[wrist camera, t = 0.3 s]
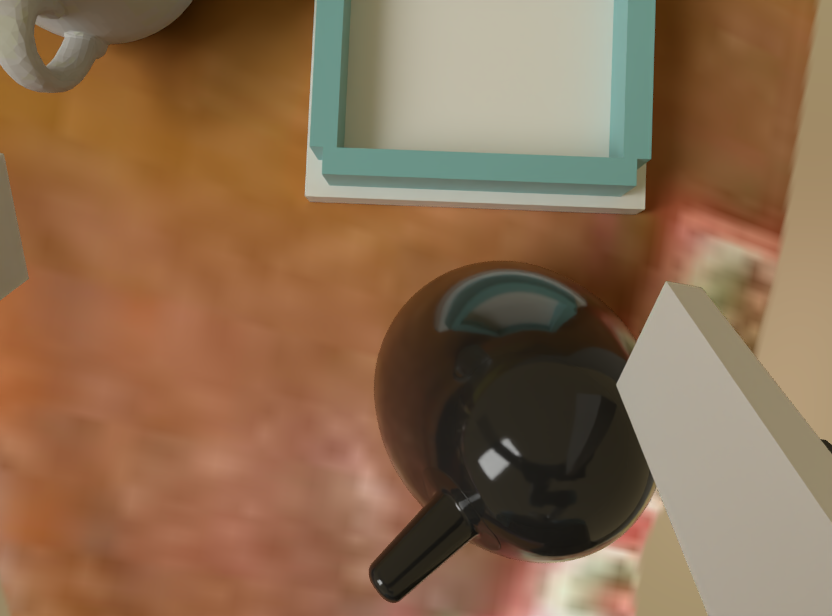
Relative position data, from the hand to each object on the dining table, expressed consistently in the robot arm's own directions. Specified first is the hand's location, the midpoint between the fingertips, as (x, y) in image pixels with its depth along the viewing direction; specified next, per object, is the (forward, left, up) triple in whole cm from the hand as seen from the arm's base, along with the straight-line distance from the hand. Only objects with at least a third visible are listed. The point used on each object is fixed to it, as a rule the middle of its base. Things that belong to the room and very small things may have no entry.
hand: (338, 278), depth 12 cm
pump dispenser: (-3, -5, -16) cm, 17 cm away
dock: (+13, -4, -16) cm, 21 cm away
